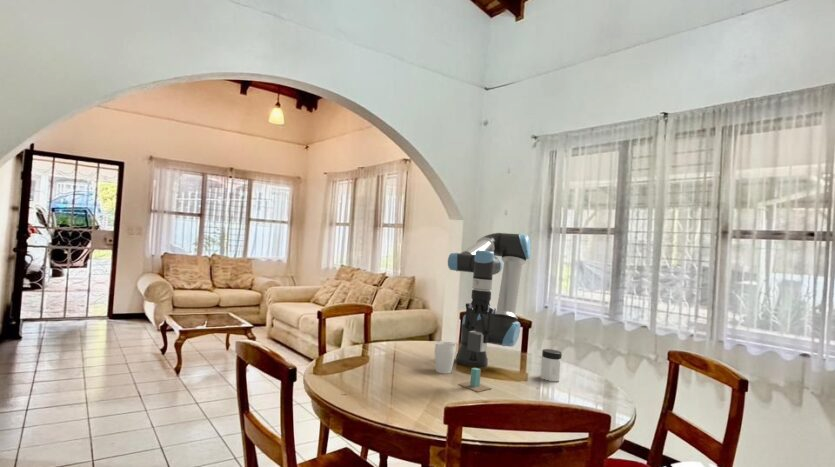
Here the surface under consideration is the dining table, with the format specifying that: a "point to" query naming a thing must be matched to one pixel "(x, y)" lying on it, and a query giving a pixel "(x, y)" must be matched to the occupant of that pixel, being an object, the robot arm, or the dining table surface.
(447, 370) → the cup
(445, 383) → the dining table surface
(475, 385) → the teal post on base
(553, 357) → the jar
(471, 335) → the charcoal cuboid
